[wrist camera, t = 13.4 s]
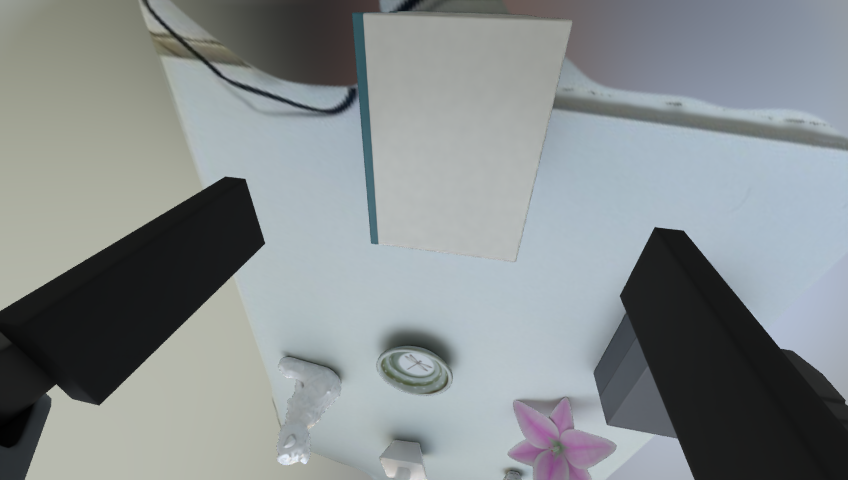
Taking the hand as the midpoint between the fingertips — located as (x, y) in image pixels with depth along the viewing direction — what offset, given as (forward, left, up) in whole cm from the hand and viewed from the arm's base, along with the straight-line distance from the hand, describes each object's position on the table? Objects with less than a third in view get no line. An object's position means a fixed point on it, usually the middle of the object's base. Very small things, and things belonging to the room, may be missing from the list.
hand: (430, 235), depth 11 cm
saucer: (+16, +27, -17) cm, 36 cm away
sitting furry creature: (+33, +28, -17) cm, 47 cm away
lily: (+2, +41, -17) cm, 44 cm away
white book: (0, 0, -11) cm, 11 cm away
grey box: (-10, +29, -17) cm, 35 cm away
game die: (+12, +59, -17) cm, 63 cm away
